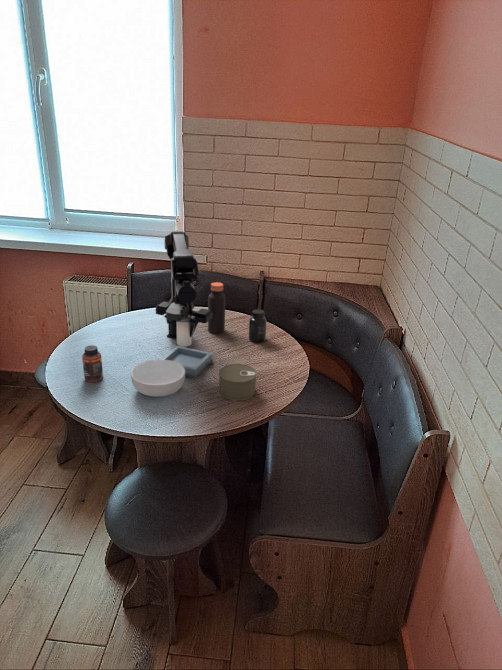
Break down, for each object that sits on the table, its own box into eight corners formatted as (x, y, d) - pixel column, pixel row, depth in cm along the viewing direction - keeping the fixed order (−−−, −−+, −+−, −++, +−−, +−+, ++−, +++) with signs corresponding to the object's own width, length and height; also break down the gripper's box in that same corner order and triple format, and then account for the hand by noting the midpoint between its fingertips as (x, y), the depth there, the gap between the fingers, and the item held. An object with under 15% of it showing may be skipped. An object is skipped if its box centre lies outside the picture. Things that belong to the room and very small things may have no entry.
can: (219, 381, 166) (220, 362, 163) (255, 382, 166) (256, 364, 163) (216, 400, 155) (217, 380, 152) (255, 402, 155) (256, 383, 152)
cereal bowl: (161, 410, 148) (160, 390, 145) (120, 393, 156) (119, 373, 153) (196, 387, 161) (196, 368, 158) (157, 372, 169) (156, 354, 166)
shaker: (173, 344, 169) (173, 317, 165) (180, 339, 174) (180, 312, 169) (187, 347, 168) (187, 320, 163) (194, 341, 172) (194, 314, 168)
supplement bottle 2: (266, 336, 200) (267, 309, 195) (264, 343, 194) (266, 315, 189) (249, 335, 200) (250, 307, 196) (247, 342, 194) (248, 314, 189)
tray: (158, 369, 171) (157, 361, 170) (177, 353, 183) (176, 345, 182) (195, 377, 167) (195, 370, 166) (211, 360, 179) (212, 353, 178)
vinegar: (205, 332, 201) (205, 285, 193) (211, 326, 207) (212, 280, 199) (221, 335, 199) (222, 288, 191) (226, 328, 205) (228, 282, 197)
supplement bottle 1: (107, 376, 165) (104, 345, 160) (96, 384, 160) (93, 353, 155) (91, 372, 167) (88, 342, 162) (80, 380, 162) (77, 349, 157)
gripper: (146, 295, 159) (147, 339, 165) (199, 305, 153) (198, 350, 160) (163, 285, 168) (164, 327, 175) (213, 293, 163) (212, 336, 169)
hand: (184, 335), depth 169 cm, fingers closed on shaker, 5 cm apart
